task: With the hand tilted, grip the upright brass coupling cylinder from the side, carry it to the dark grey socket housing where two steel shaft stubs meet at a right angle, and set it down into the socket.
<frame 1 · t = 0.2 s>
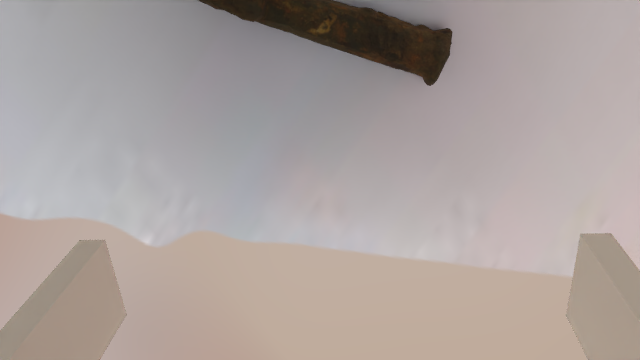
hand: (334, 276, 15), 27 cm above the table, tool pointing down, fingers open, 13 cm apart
hand tool: (315, 22, 39), on the table
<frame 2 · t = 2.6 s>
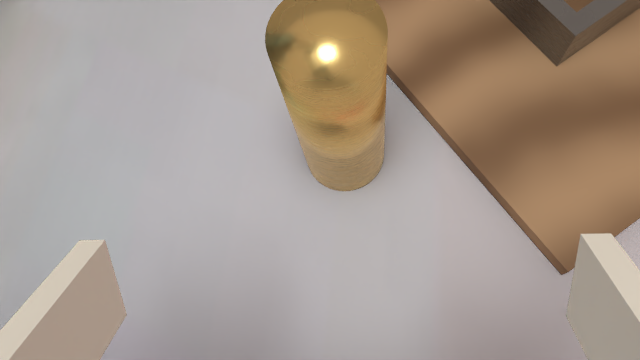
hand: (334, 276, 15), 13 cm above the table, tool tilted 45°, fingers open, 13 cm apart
coupling: (345, 154, 30), on the table
mounting board: (554, 9, 32), on the table
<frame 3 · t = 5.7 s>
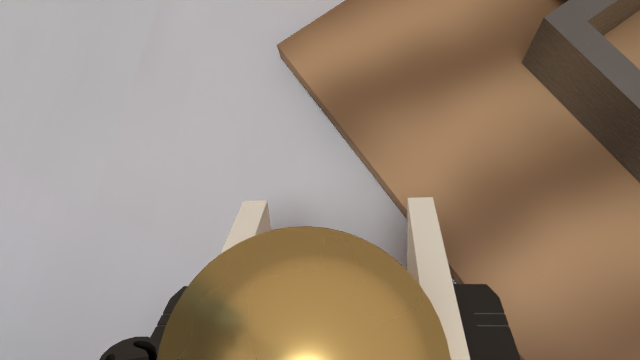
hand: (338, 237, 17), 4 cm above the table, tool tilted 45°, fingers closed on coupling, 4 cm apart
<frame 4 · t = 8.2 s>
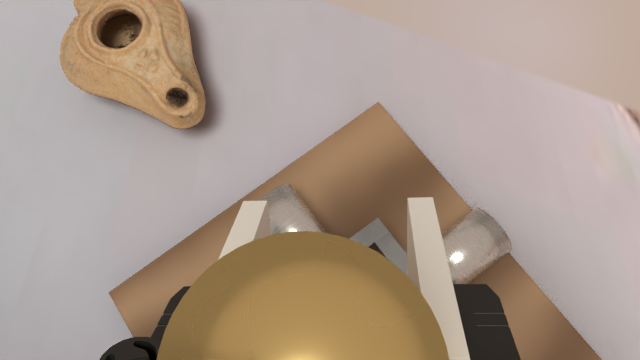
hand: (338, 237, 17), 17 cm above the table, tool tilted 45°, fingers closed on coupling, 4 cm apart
socket housing: (364, 329, 32), resting on mounting board
mounting board: (361, 354, 31), on the table
pottery oil lamp: (154, 83, 39), on the table
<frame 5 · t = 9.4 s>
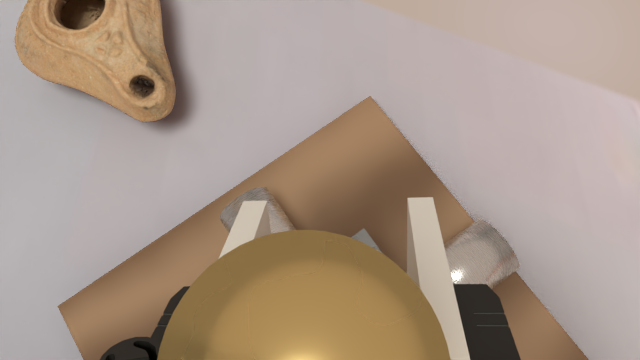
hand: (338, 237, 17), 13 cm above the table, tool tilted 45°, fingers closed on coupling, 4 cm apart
socket housing: (347, 355, 28), resting on mounting board
pottery oil lamp: (123, 71, 35), on the table
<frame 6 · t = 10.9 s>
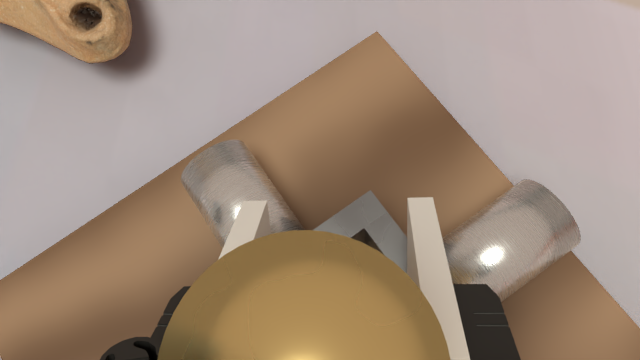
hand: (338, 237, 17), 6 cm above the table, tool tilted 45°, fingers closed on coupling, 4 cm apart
pottery oil lamp: (73, 10, 28), on the table
when the fingers open (6 cm above the table, at t = 11.1 s): coupling stays where it is, resting on mounting board.
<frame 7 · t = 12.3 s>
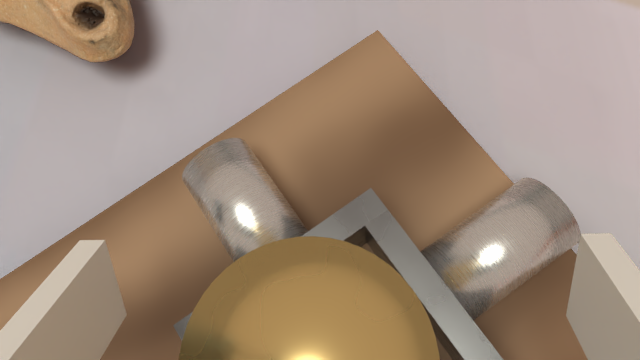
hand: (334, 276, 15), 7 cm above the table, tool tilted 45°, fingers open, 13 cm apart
socket housing: (349, 358, 21), resting on mounting board
pottery oil lamp: (75, 9, 28), on the table
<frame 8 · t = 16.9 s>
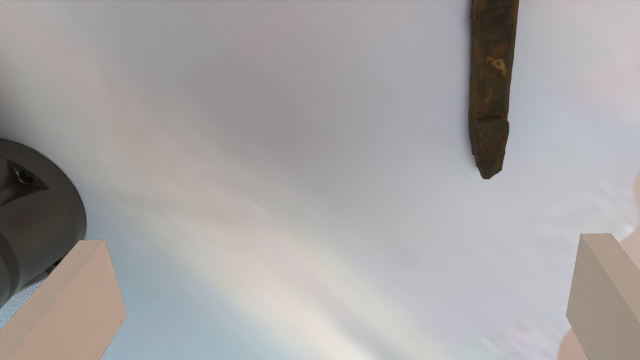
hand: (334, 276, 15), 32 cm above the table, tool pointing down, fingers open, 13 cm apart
hand tool: (492, 61, 44), on the table
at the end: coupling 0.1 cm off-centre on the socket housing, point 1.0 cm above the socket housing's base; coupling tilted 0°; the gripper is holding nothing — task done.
